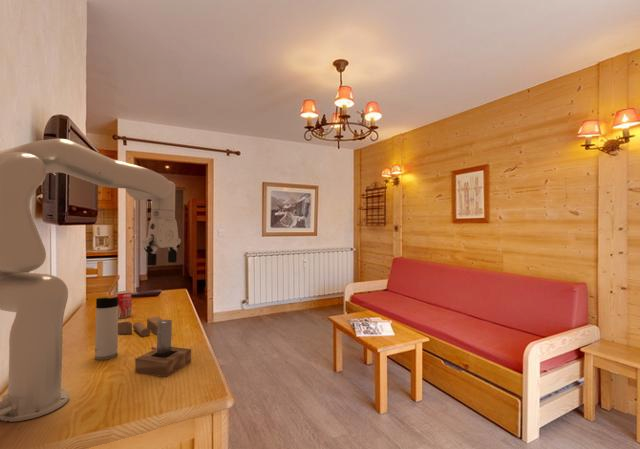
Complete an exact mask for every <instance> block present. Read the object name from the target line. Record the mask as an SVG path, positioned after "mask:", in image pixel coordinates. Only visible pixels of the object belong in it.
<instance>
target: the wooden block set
mask: <svg viewBox="0 0 640 449" xmlns="http://www.w3.org/2000/svg"><path fill="white" fill-rule="evenodd" d="M160 320H164V319H163V318H161V317H159V316H153V317H148V318H147V319H146V326H145V325H144V324H143V323H141V322H140V321H136V322H135V323H132V322H131V321H129V320H127V321H121V322H118V336H120V335H124V336H126V335H132V334H133V332H132V331H133V330H134V331H135V332H136V333H138V334H139V336H141V337H148V336H149V334H150V333H152V334H155V335H156V336H157V322H158V321H160Z"/></svg>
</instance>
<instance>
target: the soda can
mask: <svg viewBox="0 0 640 449" xmlns="http://www.w3.org/2000/svg"><path fill="white" fill-rule="evenodd" d="M114 297H118V320H119V319H120V320H121V319H127V318H129V317H130V316H131V315H132V307H133V306H132V303H133V302H132V300H133V299H132V298H133V297H132V293H131V291H130V290H119V291H116V293H115V295H114Z"/></svg>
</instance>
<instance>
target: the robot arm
mask: <svg viewBox="0 0 640 449" xmlns="http://www.w3.org/2000/svg"><path fill="white" fill-rule="evenodd" d="M55 173H62V174H66V175H68V176H70V177H71V176H72V177H74V178H77V179H80V180H81V181H82V180H83V181H84V182H85V181H86V182H89V183H91V184H93V185H97V186H101V187H104V188H105V187H106V188H112V189H125V191H126V193H127V195H128V196H129V197H130V198H133V199H135V200H138V201H139V200H142V201H143V200H144V201H145V200H151V210H150V215H151V216H150V217H151V218H150V221H149V225H148V232H147V233H148V235H147V237H146V238H145V239H143V240H141V244H142V247H143V250H144V251H145V253H146V254H147V258H146V259H147V263H146V264H147V265H146V266H151V267H152V266H157V260H158V259H157V258H158V257H157V256H158V255H157V253H156V252H157V251H158V249H159V248H160V249H161V248H162V249H165V248H167V249H168V250H169V251H168V252H167V262H168V263H169V264H170V263H171V264H172V263H173V264H175V263H176V264H177V256H178V255H177V253H178V252H179V248H180V244H181V242H182V239H181V238H180V237H179V231H178V230H179V228H178V224H177V223H178V222H177V220H176V183H174V182H173V181H172V180H168V178H166V177H165V176H164V175H162V174H160V173H158V172H156V171H154V170H152V169H149V168H146V167H144V166H140V165H136V164H133V163H128V162H125V161H120V160H118V159H114V158H111V157H108V156H107V155H104V154H101V153H99V152H98V151H96V150H93V149H91V148H88V147H86V146H84V145H82V144H80V143H77V142H75V141H72V140H70V139H66V138H49V139H43V140H42V139H41V140H36V141H32V142H28V143H25V144H21V145H18V146H14V147H11V148H6V149H4V150H1V151H0V310H1V311H5V312H11V313H15V317H14V320H13V323H12V324H11V327H10V331H9V339H8V347H9V348H8V353H9V354H8V384H7V386H8V387H7V388H8V389H7V392H8V393H7V394H5V395H2V397H1V401H0V420H1V421H2V422H7V421H9V422H11V423H13V422H21V421H27V420H33V419H35V418H36V419H37V418H39V417H42V416H45V415H47V414H50V413H52V412H54V411H57V410H58V409H59V408H61V407H63V406H64V405H65V404H66V403H67V402H68V401H69V399H70V393H69V391H68V390H66V389H62V383H63V382H62V381H63V380H62V378H63V377H62V376H63V375H62V373H63V372H62V371H63V370H62V368H63V329H64V328H63V325H64V324H63V323H64V316H65V310H66V307H67V303H68V297H69V289H68V286H67V284H66V283H65V281H63V279H61V278H60V277H58V276H55V275H52V274H49V273H48V274H47V273H37V272H34V271H35V270H37V269H39V268H40V267H42V266H43V265H44V263H45V261H46V259H47V253H46V252H47V251H46V247H45V245H44V242H43V240H42V239H41V238H42V237H41V236H40V232H39V231H38V228H37V225H36V223H35V221H34V218H33V214H32V210H31V207H30V206H31V200H32V197H33V195H34V193H35V192H36V190H38V188H39V187H40V186H41V185H42V184H43V182H44V181H45V179H46V177H47V174H55ZM32 271H33V272H32ZM3 420H4V421H3Z"/></svg>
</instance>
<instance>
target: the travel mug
mask: <svg viewBox="0 0 640 449" xmlns="http://www.w3.org/2000/svg"><path fill="white" fill-rule="evenodd" d="M95 304H96V305H95V327H94V328H95V332H94V333H95V334H94V336H95V337H94V344H95V345H94V346H95V347H94V358H95V360H97V361H103V360H104V361H105V360H109V359H112V358H115V357H117V355H118V347H119V346H118V345H119V342H118V340H119V338H118V337H119V335H118V323H119V318H118V297H115V296H114V297H98V298H96V301H95Z"/></svg>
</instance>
